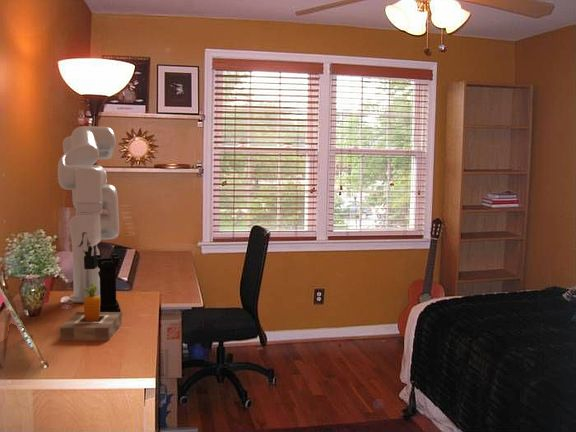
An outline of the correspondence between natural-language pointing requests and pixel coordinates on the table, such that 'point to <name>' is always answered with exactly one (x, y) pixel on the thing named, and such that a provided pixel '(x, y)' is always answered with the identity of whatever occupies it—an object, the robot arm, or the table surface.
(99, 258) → the chess piece
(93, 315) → the carrot
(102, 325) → the seat block
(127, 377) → the table surface
